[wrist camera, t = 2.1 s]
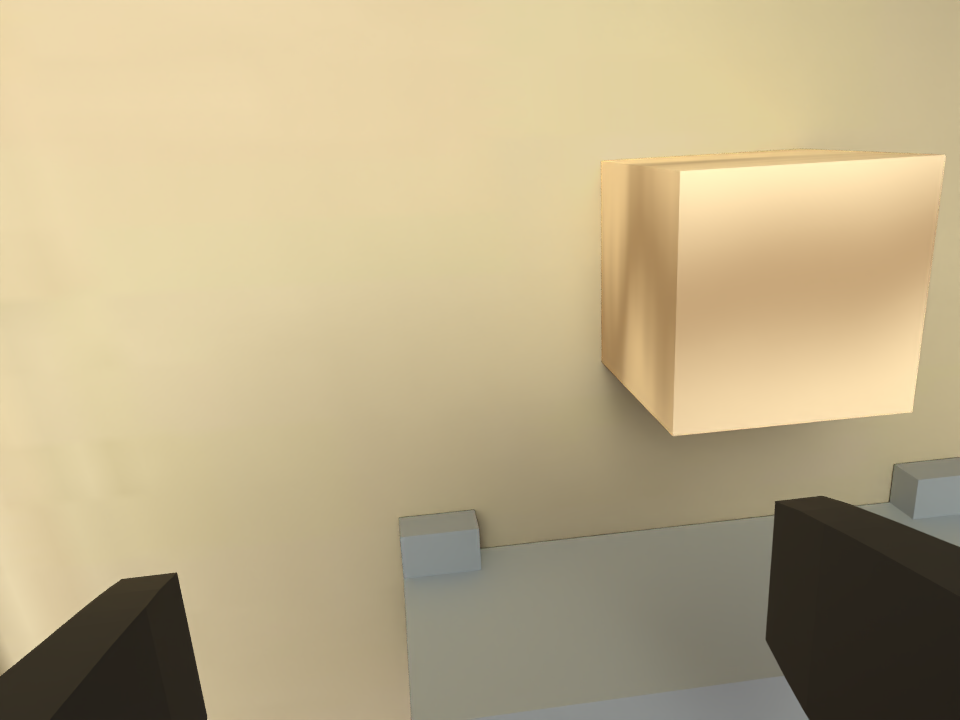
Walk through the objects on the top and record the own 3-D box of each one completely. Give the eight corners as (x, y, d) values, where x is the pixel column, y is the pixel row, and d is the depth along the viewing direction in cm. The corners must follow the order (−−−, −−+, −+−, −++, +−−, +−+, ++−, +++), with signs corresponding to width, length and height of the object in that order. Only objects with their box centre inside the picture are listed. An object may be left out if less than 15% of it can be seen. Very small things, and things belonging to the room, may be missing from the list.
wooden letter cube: (788, 344, 20) (916, 411, 15) (600, 361, 19) (672, 435, 14) (802, 148, 18) (951, 154, 14) (599, 160, 18) (680, 171, 13)
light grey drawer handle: (939, 589, 23) (1126, 743, 17) (412, 657, 21) (423, 853, 15) (959, 457, 21) (1169, 575, 16) (398, 517, 20) (406, 675, 14)
